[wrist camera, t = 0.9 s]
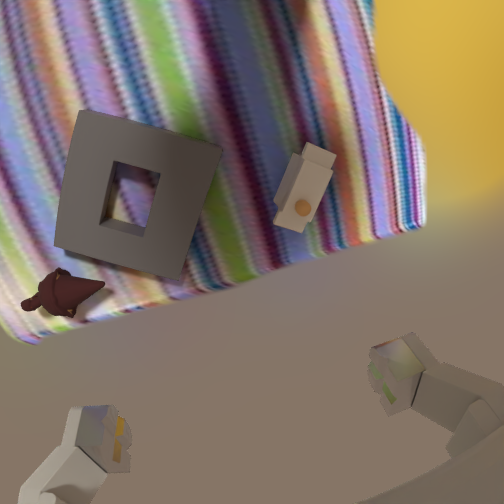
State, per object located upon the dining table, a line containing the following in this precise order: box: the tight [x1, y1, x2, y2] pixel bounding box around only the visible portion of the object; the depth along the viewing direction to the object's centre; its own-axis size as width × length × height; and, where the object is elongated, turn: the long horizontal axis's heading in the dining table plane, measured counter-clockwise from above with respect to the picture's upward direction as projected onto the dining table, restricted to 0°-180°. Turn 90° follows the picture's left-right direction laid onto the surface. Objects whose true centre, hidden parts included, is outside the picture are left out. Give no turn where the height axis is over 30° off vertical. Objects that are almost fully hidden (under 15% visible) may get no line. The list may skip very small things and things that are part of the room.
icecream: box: [21, 268, 105, 318], centre depth 41 cm, size 7×7×15 cm
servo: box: [273, 142, 337, 233], centre depth 40 cm, size 11×4×6 cm, turn 159°
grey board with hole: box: [54, 109, 223, 281], centre depth 38 cm, size 18×18×3 cm
